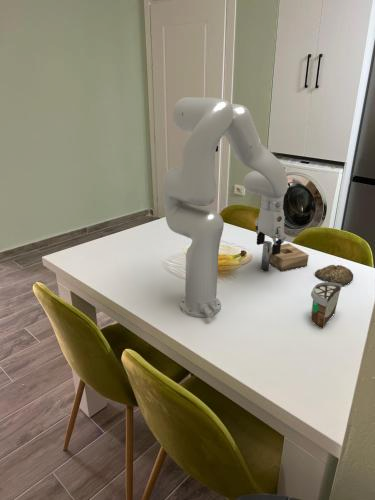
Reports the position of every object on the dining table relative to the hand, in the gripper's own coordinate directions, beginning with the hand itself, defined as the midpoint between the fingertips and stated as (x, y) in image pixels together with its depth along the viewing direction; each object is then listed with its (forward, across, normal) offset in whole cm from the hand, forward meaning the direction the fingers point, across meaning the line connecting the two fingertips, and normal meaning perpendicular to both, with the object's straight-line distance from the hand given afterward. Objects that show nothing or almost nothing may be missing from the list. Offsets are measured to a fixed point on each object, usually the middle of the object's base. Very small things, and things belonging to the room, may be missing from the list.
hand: (267, 248), depth 137 cm
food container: (+8, -33, +4) cm, 35 cm away
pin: (+8, 0, +1) cm, 8 cm away
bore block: (+8, +2, -10) cm, 13 cm away
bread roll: (+9, -15, -20) cm, 26 cm away
